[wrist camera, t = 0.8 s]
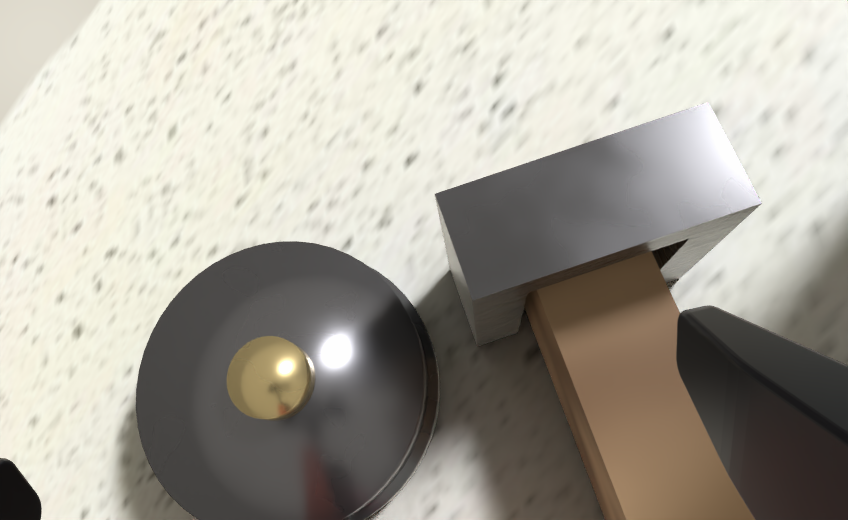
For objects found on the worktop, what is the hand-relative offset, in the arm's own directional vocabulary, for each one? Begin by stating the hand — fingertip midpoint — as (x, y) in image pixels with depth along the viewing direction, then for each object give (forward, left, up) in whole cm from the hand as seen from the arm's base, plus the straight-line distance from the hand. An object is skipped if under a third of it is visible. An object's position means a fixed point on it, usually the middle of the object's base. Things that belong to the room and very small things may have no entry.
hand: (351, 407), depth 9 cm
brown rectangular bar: (0, -6, -14) cm, 15 cm away
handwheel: (-1, +4, -13) cm, 13 cm away
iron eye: (+4, -6, -14) cm, 16 cm away
